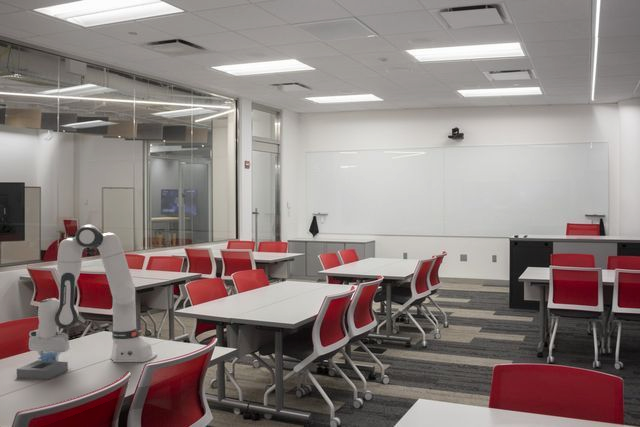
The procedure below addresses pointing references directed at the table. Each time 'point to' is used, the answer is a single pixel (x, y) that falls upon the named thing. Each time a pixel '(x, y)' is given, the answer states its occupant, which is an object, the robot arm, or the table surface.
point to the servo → (47, 356)
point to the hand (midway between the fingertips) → (49, 360)
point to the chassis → (42, 369)
